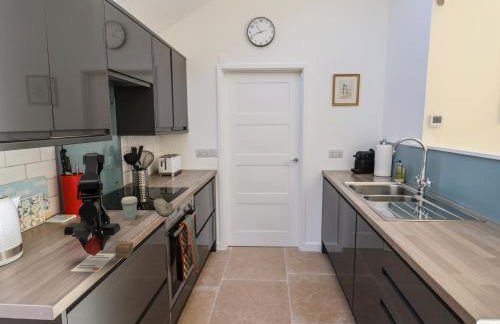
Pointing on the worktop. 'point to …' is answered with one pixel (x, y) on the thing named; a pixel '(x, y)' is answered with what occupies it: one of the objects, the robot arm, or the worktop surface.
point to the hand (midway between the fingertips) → (94, 250)
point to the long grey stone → (163, 207)
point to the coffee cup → (129, 207)
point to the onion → (93, 246)
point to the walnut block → (124, 249)
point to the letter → (93, 263)
